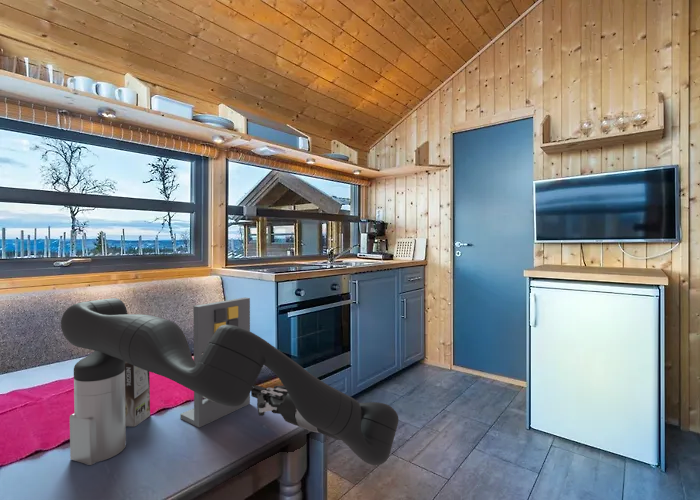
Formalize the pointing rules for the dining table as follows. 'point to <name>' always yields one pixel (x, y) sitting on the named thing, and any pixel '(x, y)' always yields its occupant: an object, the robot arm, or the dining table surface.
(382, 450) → the robot arm
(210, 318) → the button panel
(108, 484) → the dining table surface
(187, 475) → the dining table surface
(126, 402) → the coffee box
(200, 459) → the dining table surface
